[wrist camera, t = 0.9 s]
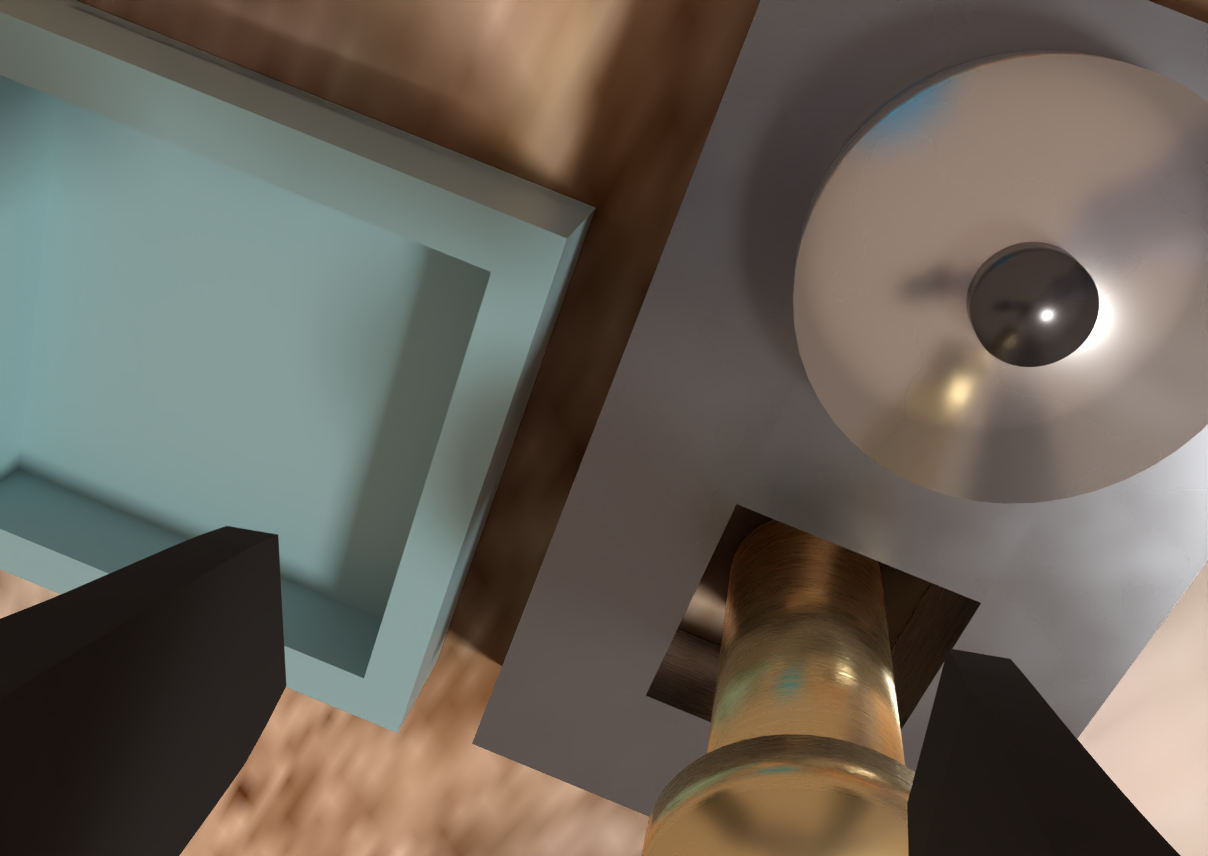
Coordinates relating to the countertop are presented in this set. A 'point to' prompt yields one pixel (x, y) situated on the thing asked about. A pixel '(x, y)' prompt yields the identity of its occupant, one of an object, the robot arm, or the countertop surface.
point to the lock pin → (795, 715)
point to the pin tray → (258, 337)
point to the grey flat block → (900, 369)
